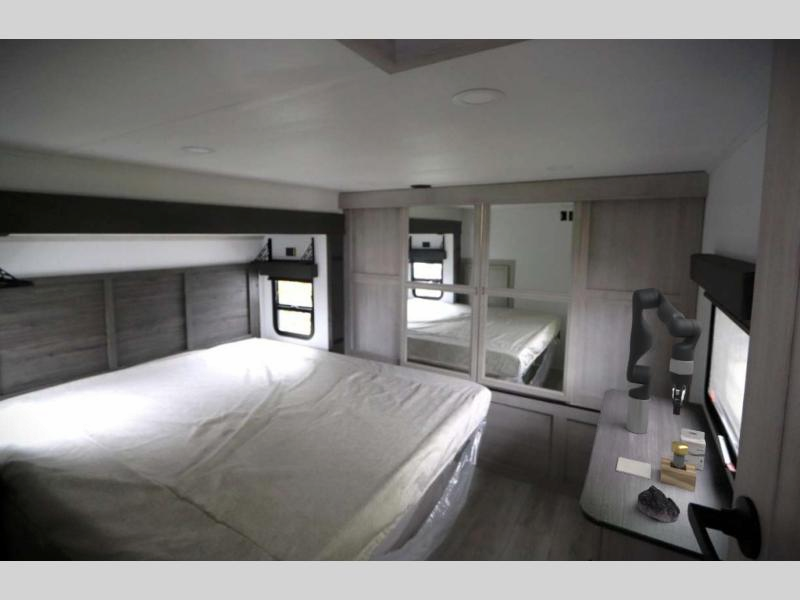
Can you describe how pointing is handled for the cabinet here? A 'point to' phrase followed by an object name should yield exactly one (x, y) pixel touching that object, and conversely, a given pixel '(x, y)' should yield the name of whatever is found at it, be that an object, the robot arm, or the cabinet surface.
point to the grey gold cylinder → (679, 454)
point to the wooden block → (678, 474)
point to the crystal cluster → (658, 505)
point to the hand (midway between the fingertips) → (677, 411)
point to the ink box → (694, 447)
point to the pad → (634, 468)
